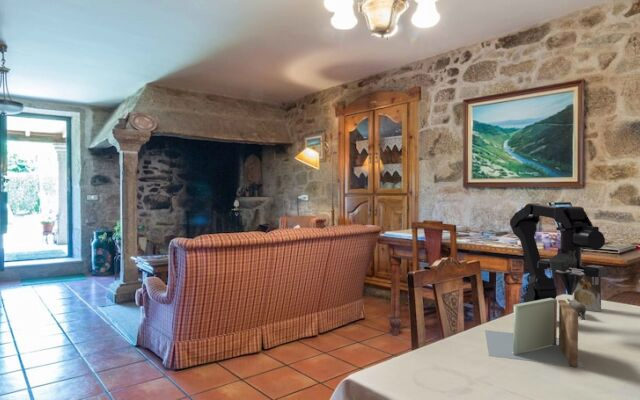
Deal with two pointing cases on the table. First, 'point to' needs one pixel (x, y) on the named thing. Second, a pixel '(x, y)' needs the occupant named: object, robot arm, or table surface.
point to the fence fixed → (568, 332)
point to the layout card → (503, 347)
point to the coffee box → (589, 293)
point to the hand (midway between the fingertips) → (570, 294)
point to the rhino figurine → (578, 307)
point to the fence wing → (534, 325)
